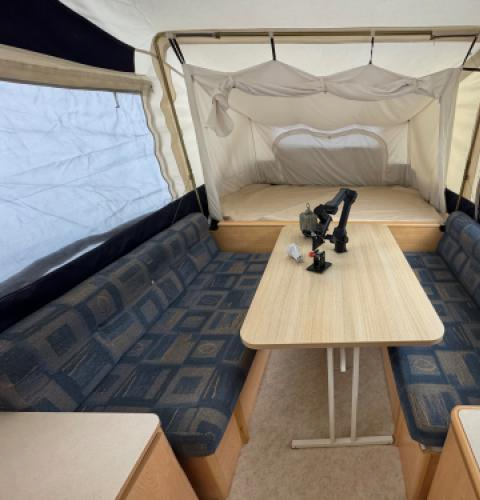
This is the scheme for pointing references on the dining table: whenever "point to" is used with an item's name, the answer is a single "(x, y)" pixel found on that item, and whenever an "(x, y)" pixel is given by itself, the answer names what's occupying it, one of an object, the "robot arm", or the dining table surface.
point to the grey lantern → (307, 219)
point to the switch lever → (314, 254)
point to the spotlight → (294, 252)
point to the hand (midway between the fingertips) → (312, 250)
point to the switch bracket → (319, 263)
